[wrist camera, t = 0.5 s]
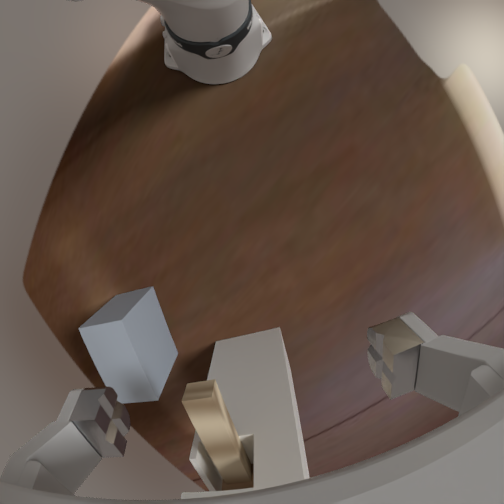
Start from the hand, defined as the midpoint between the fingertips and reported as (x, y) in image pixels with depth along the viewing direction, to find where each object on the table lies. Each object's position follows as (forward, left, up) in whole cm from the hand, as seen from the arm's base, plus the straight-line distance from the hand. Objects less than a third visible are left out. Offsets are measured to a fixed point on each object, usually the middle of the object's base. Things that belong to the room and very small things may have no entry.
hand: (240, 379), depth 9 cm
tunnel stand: (+25, -6, -44) cm, 51 cm away
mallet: (+21, -8, -18) cm, 29 cm away
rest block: (+14, -24, -44) cm, 52 cm away
